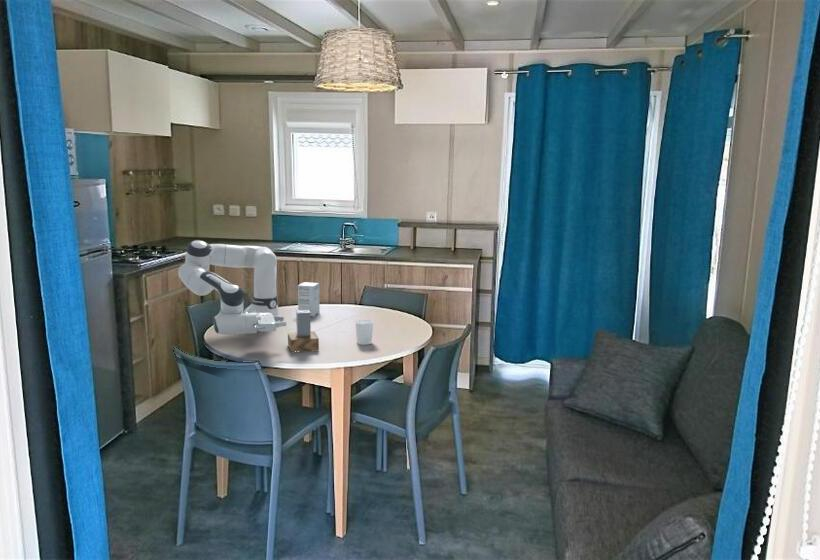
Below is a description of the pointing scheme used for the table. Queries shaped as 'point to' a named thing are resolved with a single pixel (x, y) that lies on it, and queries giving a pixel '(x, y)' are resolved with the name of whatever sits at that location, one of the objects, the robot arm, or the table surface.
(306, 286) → the supplement box
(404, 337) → the table surface
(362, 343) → the white cup
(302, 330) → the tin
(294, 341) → the walnut block
